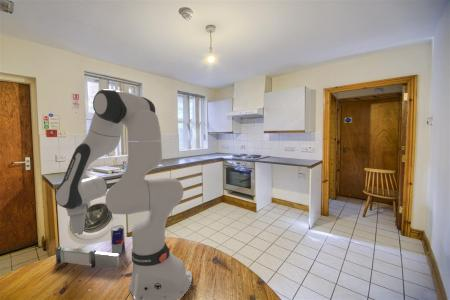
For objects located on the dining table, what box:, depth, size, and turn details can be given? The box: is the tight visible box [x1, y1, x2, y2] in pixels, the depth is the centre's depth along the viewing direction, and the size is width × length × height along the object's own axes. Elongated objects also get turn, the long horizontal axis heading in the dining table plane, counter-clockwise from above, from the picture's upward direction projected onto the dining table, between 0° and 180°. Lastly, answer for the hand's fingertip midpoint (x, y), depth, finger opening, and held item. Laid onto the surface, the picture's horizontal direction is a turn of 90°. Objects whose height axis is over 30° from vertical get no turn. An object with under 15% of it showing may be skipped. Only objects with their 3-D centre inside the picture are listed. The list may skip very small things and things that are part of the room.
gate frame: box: [54, 246, 120, 271], centre depth 85 cm, size 29×2×6 cm, turn 81°
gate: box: [60, 247, 93, 266], centre depth 86 cm, size 13×2×5 cm, turn 81°
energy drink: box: [110, 224, 126, 256], centre depth 94 cm, size 5×5×12 cm
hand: (80, 233), depth 92 cm, fingers closed
